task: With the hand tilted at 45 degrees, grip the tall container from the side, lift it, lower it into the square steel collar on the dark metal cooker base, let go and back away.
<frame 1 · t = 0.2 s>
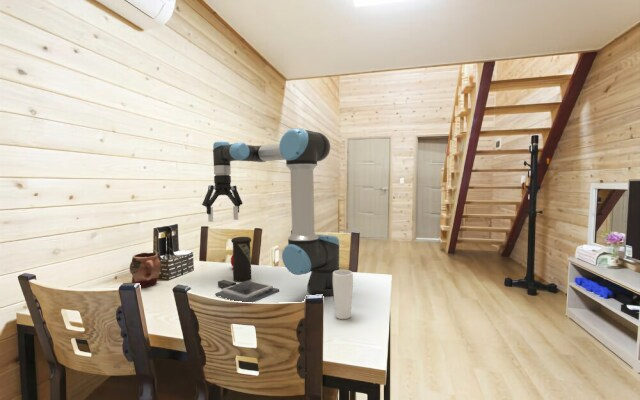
hand: (223, 220, 150), 28 cm above the table, tool pointing down, fingers open, 13 cm apart
drinking glass: (342, 317, 107), on the table
fruit: (239, 268, 171), on the table
decorative planter: (146, 286, 143), on the table
cooker base: (247, 293, 131), on the table
container: (242, 279, 151), on the table
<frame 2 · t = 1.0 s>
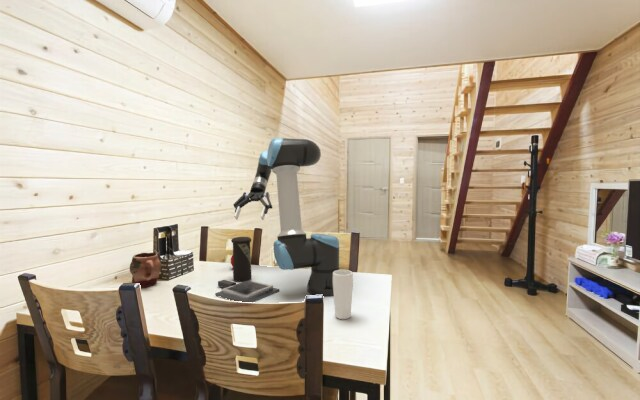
hand: (248, 218, 159), 28 cm above the table, tool tilted 45°, fingers open, 13 cm apart
nothing on the table moved.
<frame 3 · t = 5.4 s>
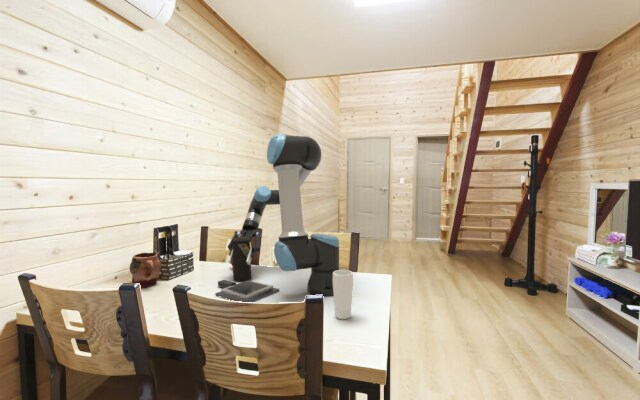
hand: (238, 262, 147), 9 cm above the table, tool tilted 45°, fingers closed on container, 8 cm apart
container: (242, 279, 151), on the table, touching gripper
everything else where it was.
when the fingers open (11 cm above the table, at t = 11.1 s): container moves 1 cm, resting on cooker base.
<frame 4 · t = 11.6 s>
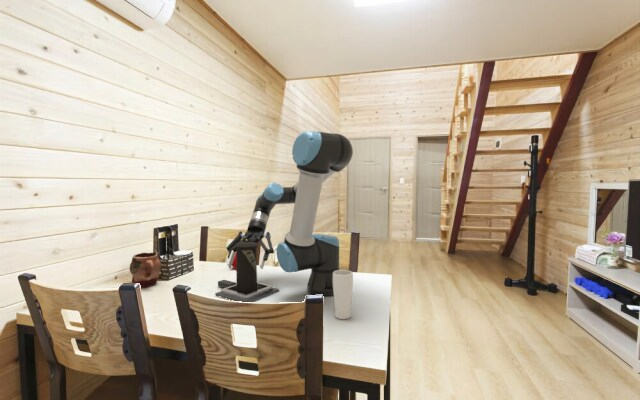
hand: (244, 266, 128), 12 cm above the table, tool tilted 45°, fingers open, 13 cm apart
container: (246, 291, 131), point 1 cm above the table, touching cooker base
everything else where it was.
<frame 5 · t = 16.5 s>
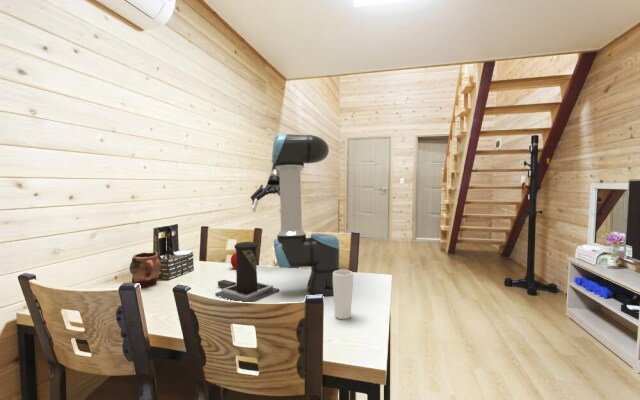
hand: (266, 210, 157), 32 cm above the table, tool tilted 45°, fingers open, 13 cm apart
nothing on the table moved.
at the end: container 0.4 cm off-centre on the cooker base, point 0.8 cm above the cooker base's base; container tilted 0°; the gripper is holding nothing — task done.
